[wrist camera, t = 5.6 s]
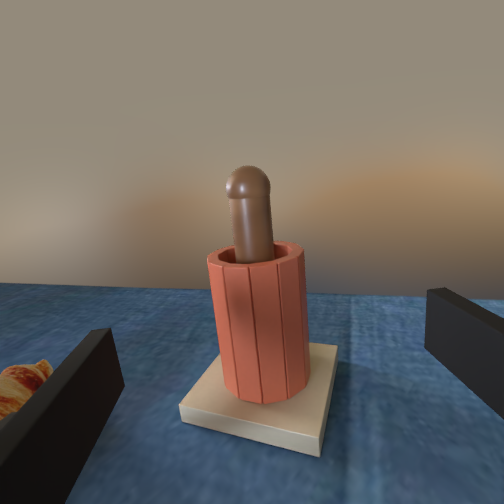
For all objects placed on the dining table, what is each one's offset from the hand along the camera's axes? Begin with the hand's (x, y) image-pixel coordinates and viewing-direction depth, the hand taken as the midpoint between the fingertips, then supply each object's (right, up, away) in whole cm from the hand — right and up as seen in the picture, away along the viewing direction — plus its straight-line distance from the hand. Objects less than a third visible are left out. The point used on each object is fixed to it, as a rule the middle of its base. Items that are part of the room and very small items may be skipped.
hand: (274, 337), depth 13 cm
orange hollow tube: (0, -6, +12) cm, 13 cm away
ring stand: (0, -8, +12) cm, 14 cm away
